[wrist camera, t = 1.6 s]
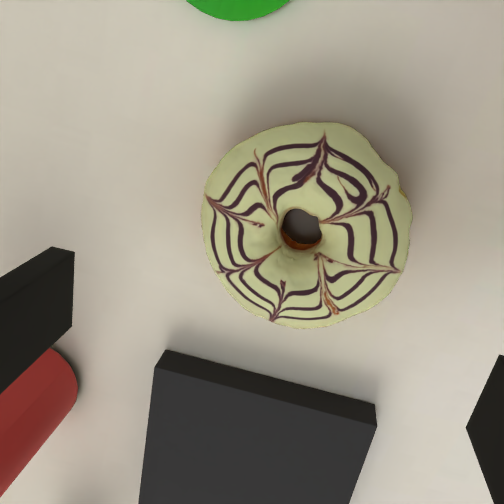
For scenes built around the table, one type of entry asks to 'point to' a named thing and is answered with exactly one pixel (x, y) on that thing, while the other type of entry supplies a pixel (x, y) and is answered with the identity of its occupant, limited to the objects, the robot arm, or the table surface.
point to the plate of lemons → (237, 8)
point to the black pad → (249, 438)
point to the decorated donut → (316, 204)
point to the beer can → (33, 412)
